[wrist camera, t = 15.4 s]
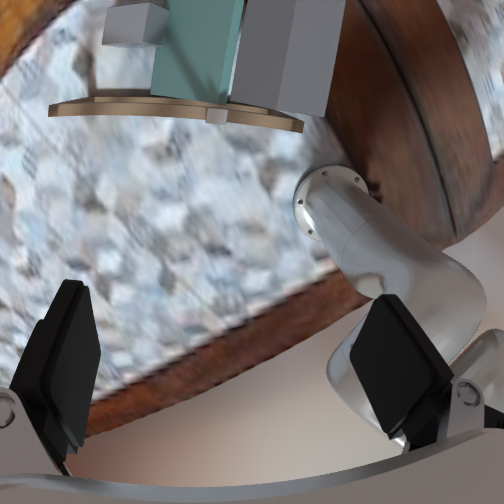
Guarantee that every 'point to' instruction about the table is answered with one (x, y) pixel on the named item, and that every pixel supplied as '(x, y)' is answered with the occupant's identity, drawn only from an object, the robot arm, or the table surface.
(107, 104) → the stand
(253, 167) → the table surface
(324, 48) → the hatch door
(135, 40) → the smooth gray block
